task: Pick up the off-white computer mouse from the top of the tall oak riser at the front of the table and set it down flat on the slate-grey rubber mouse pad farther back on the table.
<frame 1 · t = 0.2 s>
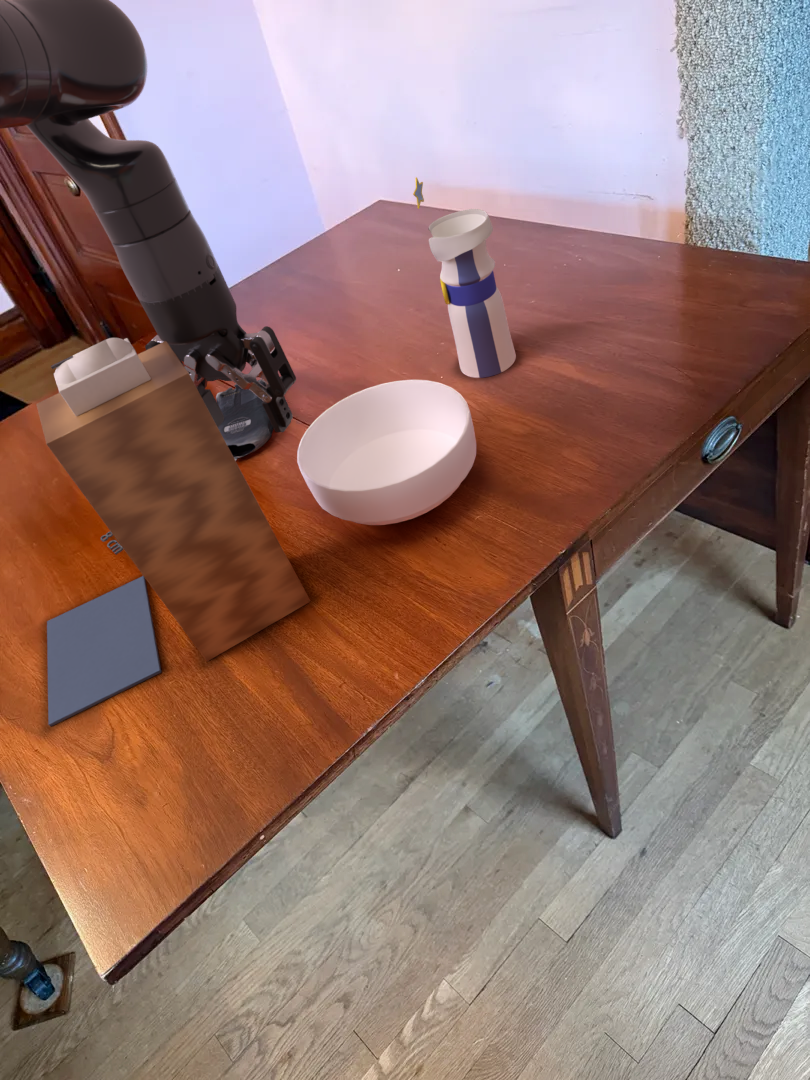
hand: (250, 426, 76), 15 cm above the table, tool pointing down, fingers open, 8 cm apart
bowl: (402, 490, 87), on the table
electronic device: (247, 430, 106), on the table
water bottle: (487, 363, 102), on the table
mouse: (110, 388, 61), point 28 cm above the table, touching riser
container: (157, 533, 94), on the table
riser: (247, 608, 79), on the table
mouse pad: (101, 646, 81), on the table
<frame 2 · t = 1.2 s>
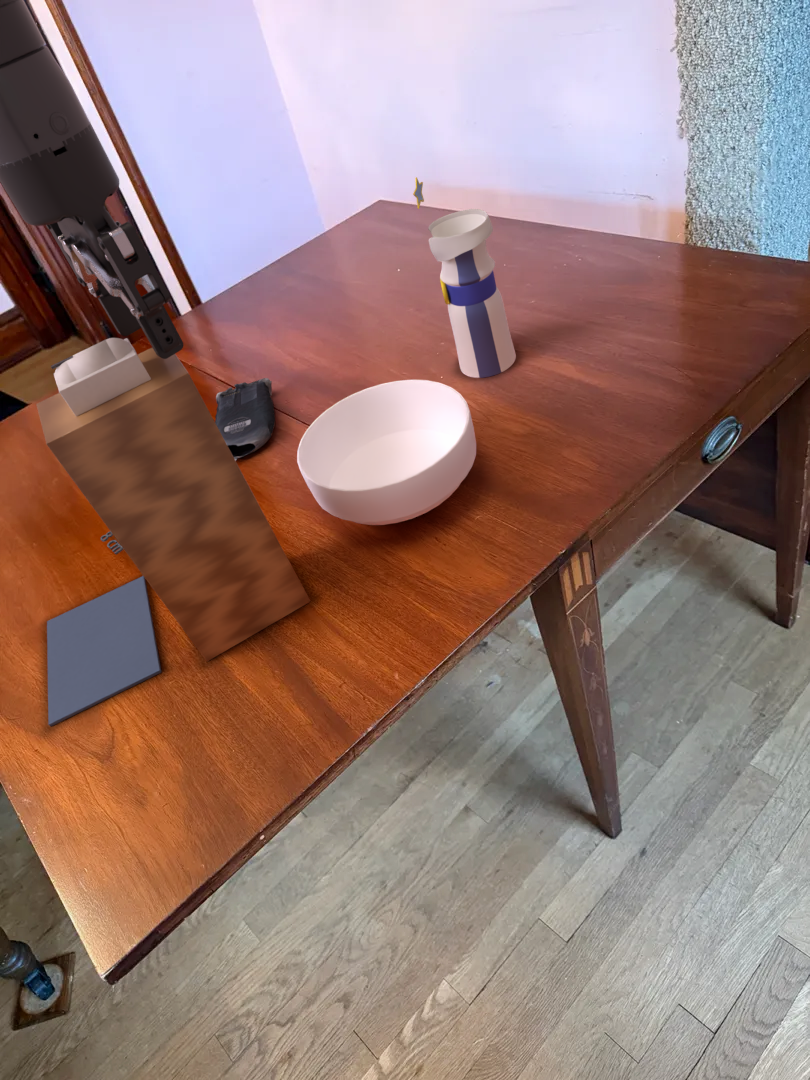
hand: (151, 341, 63), 29 cm above the table, tool pointing down, fingers open, 8 cm apart
nothing on the table moved.
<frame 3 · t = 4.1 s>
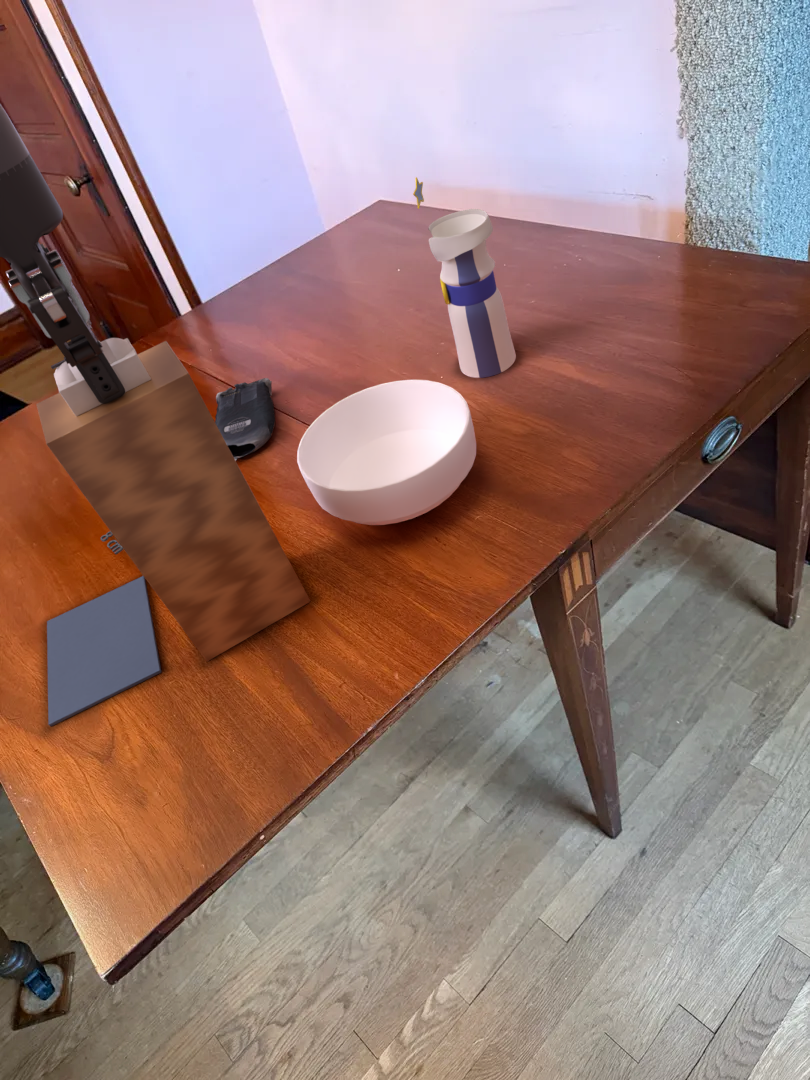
hand: (108, 386, 61), 28 cm above the table, tool pointing down, fingers closed on mouse, 4 cm apart
mouse: (110, 388, 61), point 28 cm above the table, touching gripper, riser
everything else where it was.
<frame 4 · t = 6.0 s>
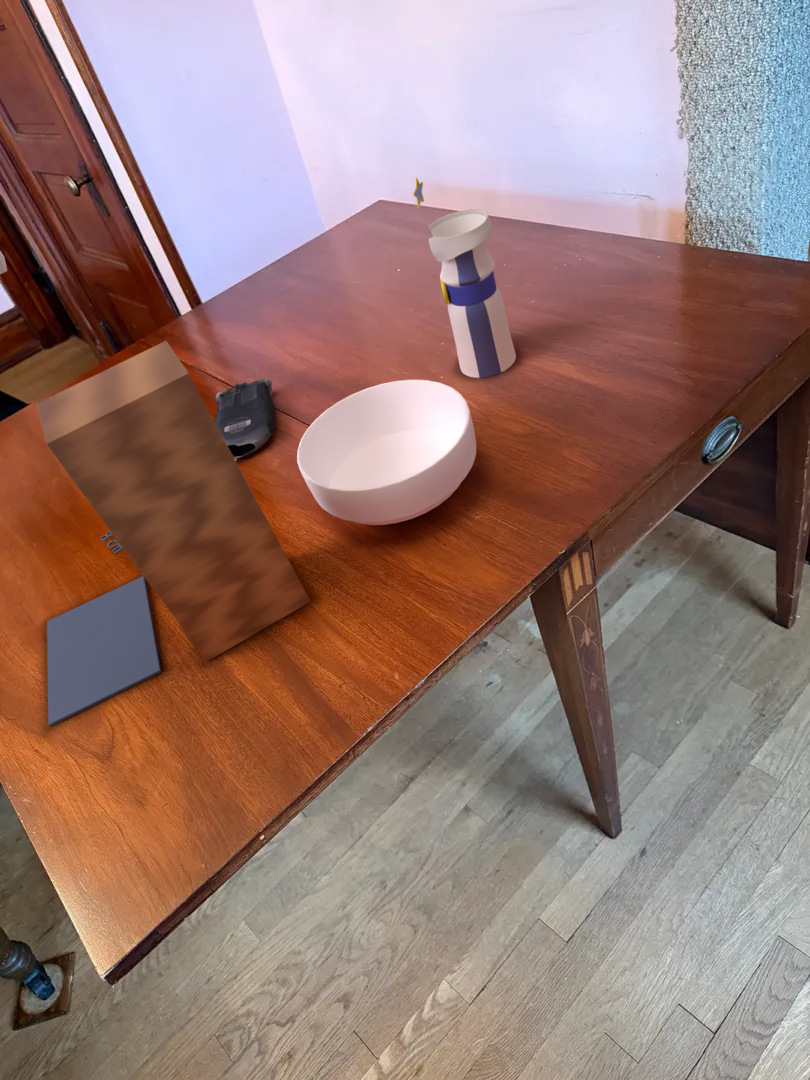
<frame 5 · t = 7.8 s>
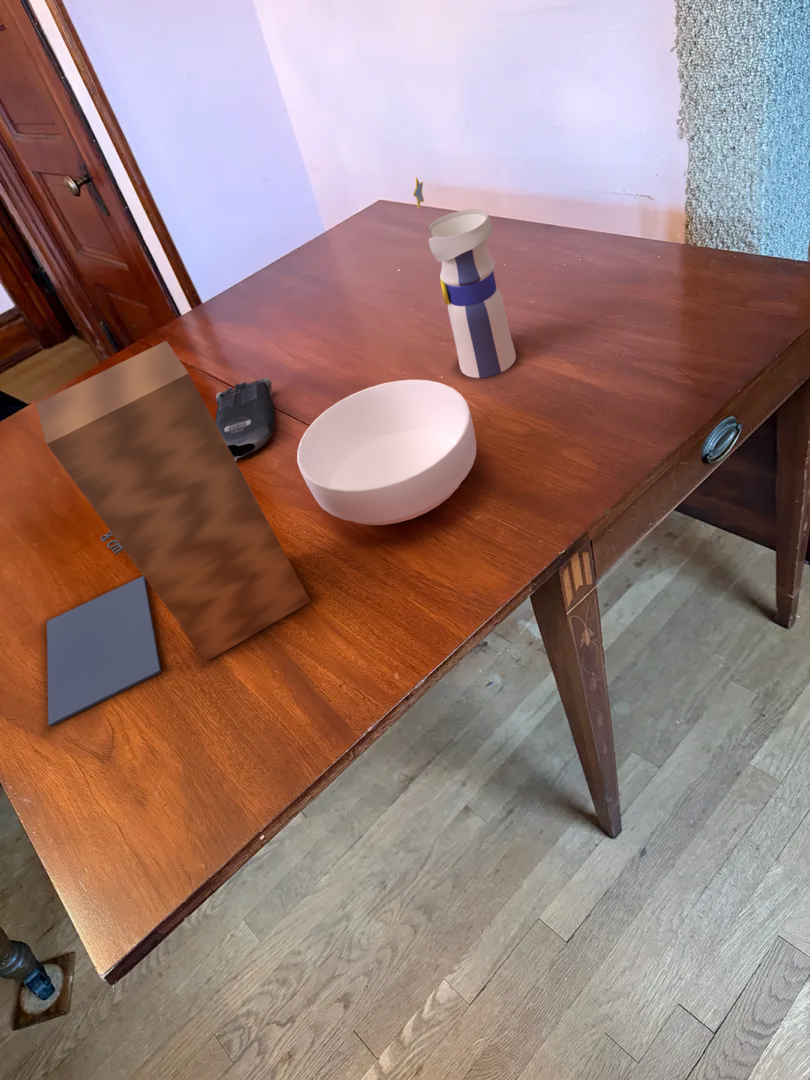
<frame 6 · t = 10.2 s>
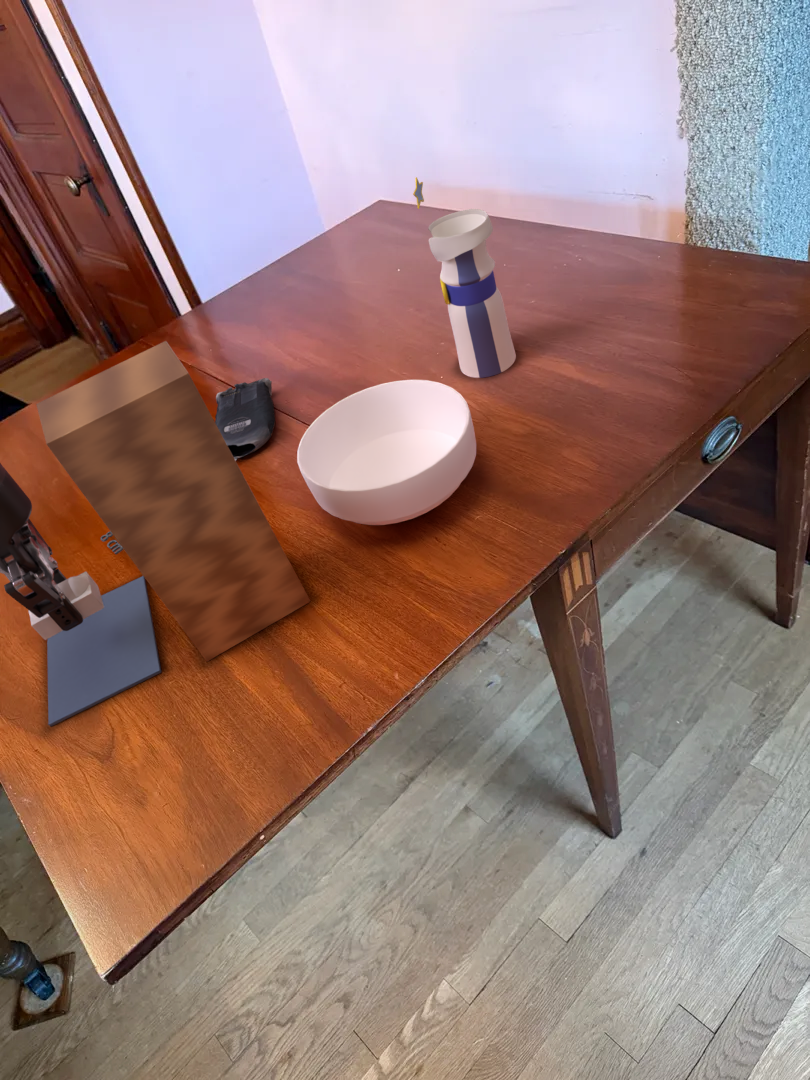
hand: (70, 611, 77), 6 cm above the table, tool pointing down, fingers closed on mouse, 4 cm apart
mouse: (72, 612, 78), point 6 cm above the table, touching gripper
everything else where it was.
when the fingers open (1 cm above the table, at t = 11.9 s): mouse stays where it is, resting on mouse pad.
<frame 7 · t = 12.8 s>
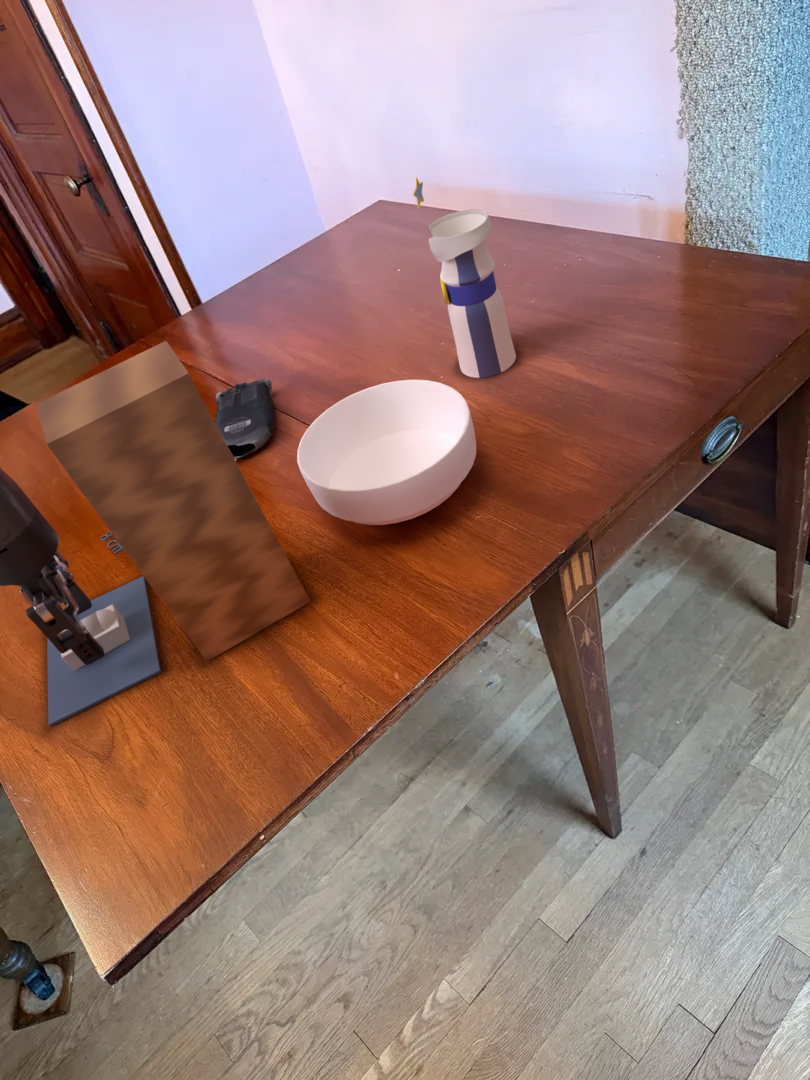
hand: (89, 633, 80), 2 cm above the table, tool pointing down, fingers open, 8 cm apart
mouse: (99, 643, 81), resting on mouse pad
everything else where it was.
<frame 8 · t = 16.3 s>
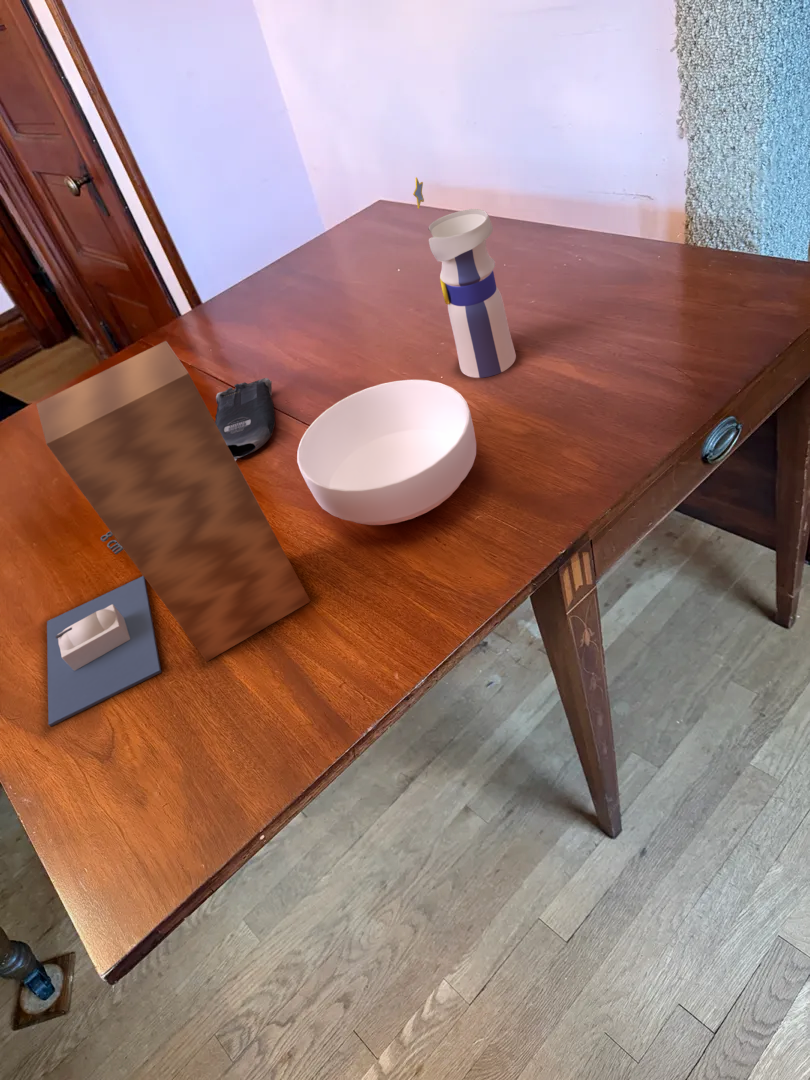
nothing on the table moved.
at the end: mouse inside the target area on the mouse pad (0.0 cm from its centre), point 0.4 cm above the mouse pad's base; mouse tilted 0°; the gripper is holding nothing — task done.
